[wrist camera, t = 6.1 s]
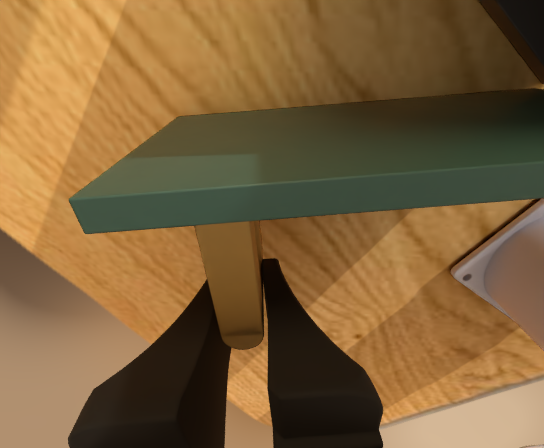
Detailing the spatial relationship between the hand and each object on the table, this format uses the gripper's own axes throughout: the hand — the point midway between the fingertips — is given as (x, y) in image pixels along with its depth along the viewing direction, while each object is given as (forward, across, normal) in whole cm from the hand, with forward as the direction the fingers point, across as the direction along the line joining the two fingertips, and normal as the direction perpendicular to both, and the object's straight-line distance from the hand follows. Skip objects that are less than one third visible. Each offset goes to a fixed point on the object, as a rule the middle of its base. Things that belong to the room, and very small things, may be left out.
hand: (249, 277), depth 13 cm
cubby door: (+3, -5, -3) cm, 7 cm away
